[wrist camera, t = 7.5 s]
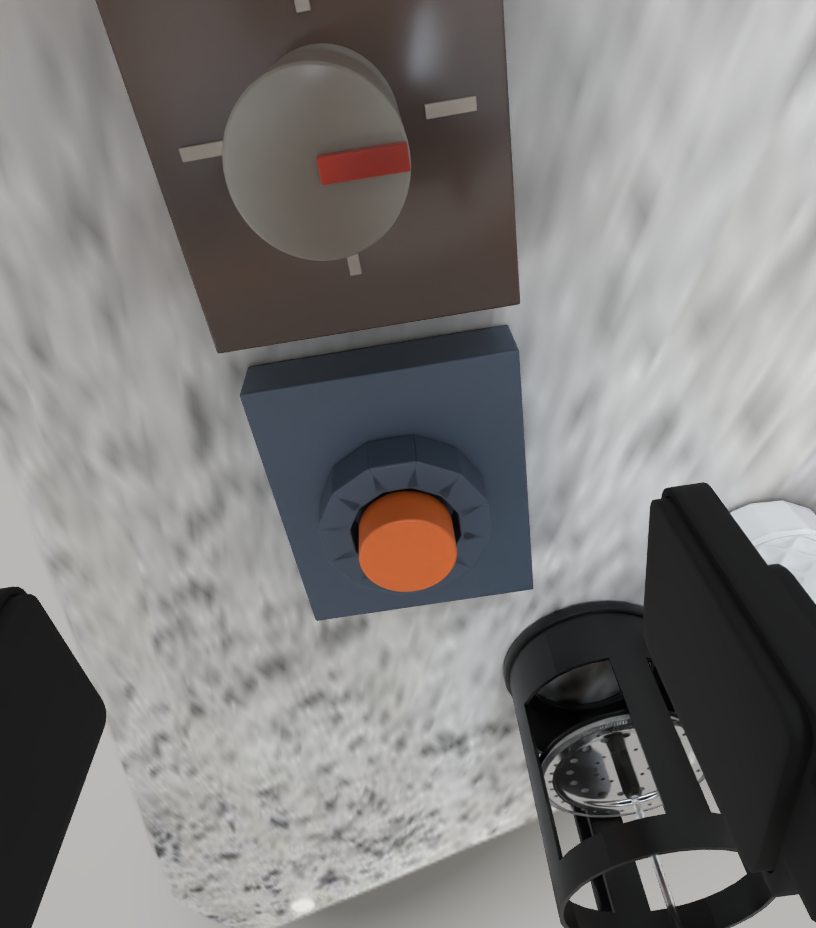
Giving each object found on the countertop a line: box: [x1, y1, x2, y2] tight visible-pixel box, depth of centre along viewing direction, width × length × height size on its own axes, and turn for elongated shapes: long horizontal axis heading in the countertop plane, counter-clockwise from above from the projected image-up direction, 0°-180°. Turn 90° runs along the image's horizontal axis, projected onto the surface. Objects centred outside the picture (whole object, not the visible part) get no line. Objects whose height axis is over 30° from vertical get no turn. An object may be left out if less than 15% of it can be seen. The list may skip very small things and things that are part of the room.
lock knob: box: [222, 43, 411, 261], centre depth 16 cm, size 4×4×5 cm
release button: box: [359, 491, 457, 592], centre depth 25 cm, size 4×4×2 cm
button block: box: [240, 325, 533, 621], centre depth 27 cm, size 12×10×4 cm
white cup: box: [729, 500, 816, 604], centre depth 29 cm, size 8×8×10 cm
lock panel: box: [96, 0, 520, 353], centre depth 20 cm, size 12×10×3 cm
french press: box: [504, 601, 775, 928], centre depth 28 cm, size 12×9×23 cm
